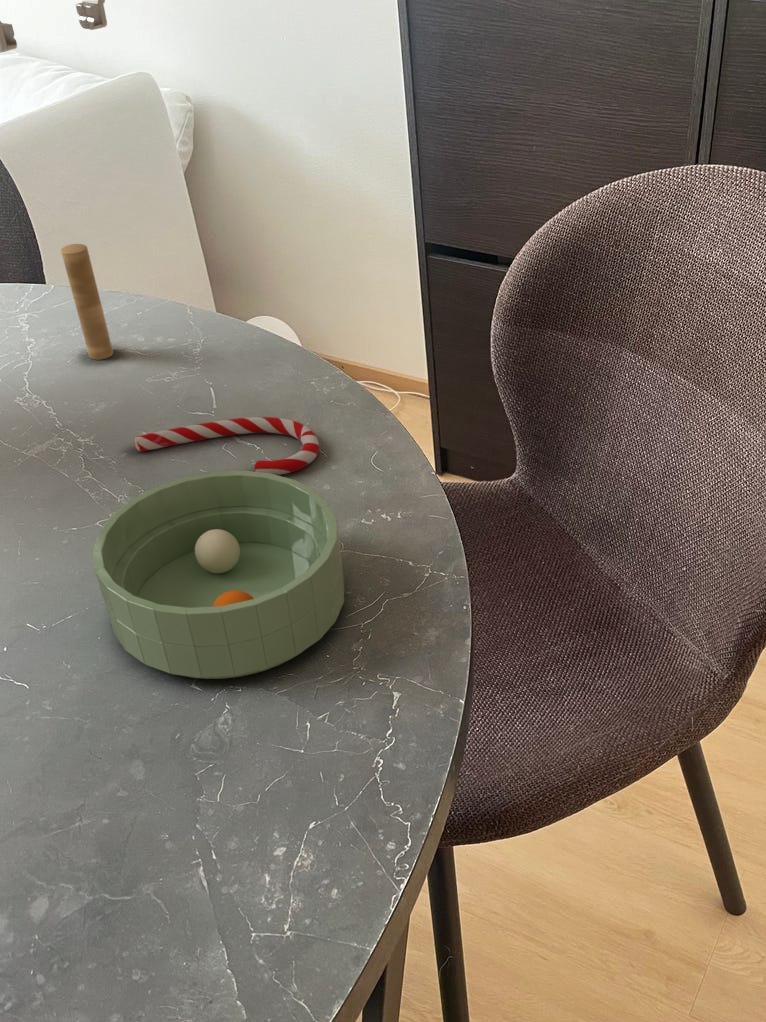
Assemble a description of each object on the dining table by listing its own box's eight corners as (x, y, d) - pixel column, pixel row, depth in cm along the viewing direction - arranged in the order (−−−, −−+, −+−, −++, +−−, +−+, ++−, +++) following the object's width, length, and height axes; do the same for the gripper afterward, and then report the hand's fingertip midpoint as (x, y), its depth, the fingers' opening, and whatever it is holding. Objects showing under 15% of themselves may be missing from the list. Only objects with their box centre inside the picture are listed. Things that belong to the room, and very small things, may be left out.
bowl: (127, 712, 63) (104, 637, 59) (105, 566, 73) (83, 495, 69) (371, 654, 67) (364, 580, 63) (316, 523, 77) (307, 454, 73)
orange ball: (219, 651, 66) (211, 615, 64) (212, 622, 68) (204, 586, 66) (267, 640, 66) (260, 604, 64) (257, 612, 68) (251, 576, 66)
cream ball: (202, 586, 71) (194, 550, 69) (195, 560, 73) (187, 525, 71) (246, 576, 71) (240, 541, 69) (238, 551, 73) (232, 516, 71)
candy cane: (140, 416, 86) (321, 413, 87) (143, 430, 87) (323, 426, 88) (120, 467, 81) (314, 463, 81) (124, 481, 81) (316, 477, 82)
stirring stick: (90, 361, 96) (61, 254, 90) (88, 351, 98) (60, 245, 91) (114, 357, 97) (88, 251, 90) (112, 347, 98) (86, 242, 92)
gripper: (80, -185, 84) (118, 11, 93) (-152, -168, 71) (-81, 58, 80) (136, -181, 82) (169, 20, 91) (-93, -163, 69) (-27, 70, 78)
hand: (50, 38), depth 86 cm, fingers open, 8 cm apart
